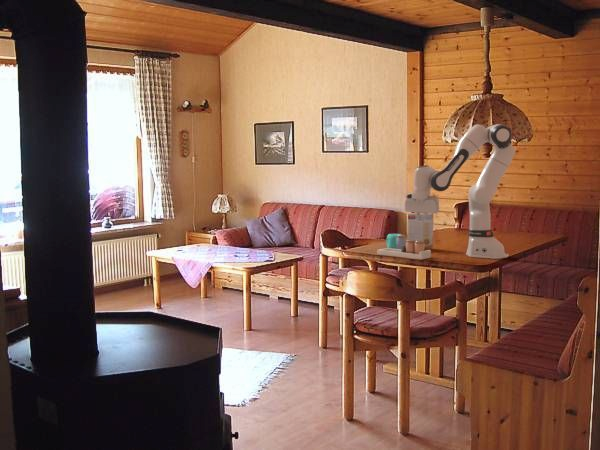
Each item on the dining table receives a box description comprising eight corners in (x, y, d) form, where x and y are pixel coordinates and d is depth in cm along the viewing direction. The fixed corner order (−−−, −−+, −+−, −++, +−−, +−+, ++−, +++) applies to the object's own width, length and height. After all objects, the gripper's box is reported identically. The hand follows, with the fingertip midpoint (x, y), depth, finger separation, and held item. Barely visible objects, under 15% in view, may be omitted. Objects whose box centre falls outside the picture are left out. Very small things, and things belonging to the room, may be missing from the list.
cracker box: (433, 248, 410) (433, 212, 408) (431, 250, 405) (432, 213, 402) (409, 247, 415) (409, 212, 413) (407, 249, 409) (407, 213, 407)
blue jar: (407, 250, 402) (407, 235, 401) (402, 251, 399) (402, 236, 398) (399, 250, 406) (399, 234, 405) (394, 251, 402) (394, 235, 401)
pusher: (415, 253, 389) (415, 243, 388) (403, 256, 381) (403, 246, 380) (412, 253, 390) (412, 243, 389) (400, 256, 382) (400, 245, 381)
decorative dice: (399, 246, 419) (399, 233, 419) (403, 248, 412) (403, 235, 411) (386, 247, 418) (386, 233, 417) (390, 249, 410) (390, 235, 410)
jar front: (426, 257, 378) (426, 241, 377) (420, 258, 374) (420, 242, 373) (417, 256, 381) (418, 240, 380) (412, 257, 377) (412, 241, 376)
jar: (417, 256, 381) (417, 240, 380) (411, 257, 378) (412, 241, 377) (409, 255, 385) (409, 239, 384) (403, 256, 381) (403, 240, 380)
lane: (430, 257, 378) (430, 250, 378) (421, 259, 371) (421, 252, 371) (387, 252, 398) (387, 245, 397) (377, 254, 391) (377, 247, 390)
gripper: (441, 195, 376) (441, 221, 378) (409, 194, 390) (409, 219, 392) (435, 196, 372) (435, 222, 373) (403, 195, 385) (403, 220, 387)
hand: (421, 220), depth 382 cm, fingers closed
